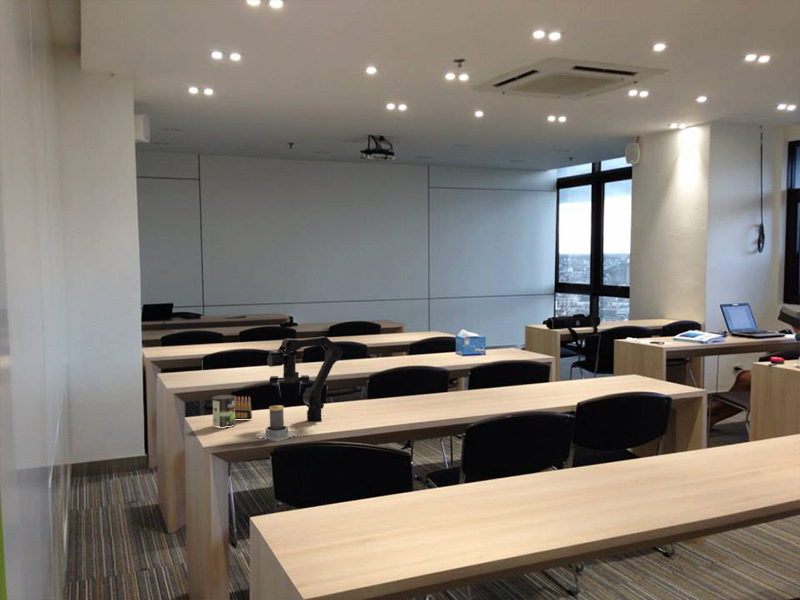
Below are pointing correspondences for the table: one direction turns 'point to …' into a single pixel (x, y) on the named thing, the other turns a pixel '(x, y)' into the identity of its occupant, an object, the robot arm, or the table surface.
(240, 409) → the ammunition clip
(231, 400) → the coffee can
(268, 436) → the duct collar
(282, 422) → the grey cylindrical piece
